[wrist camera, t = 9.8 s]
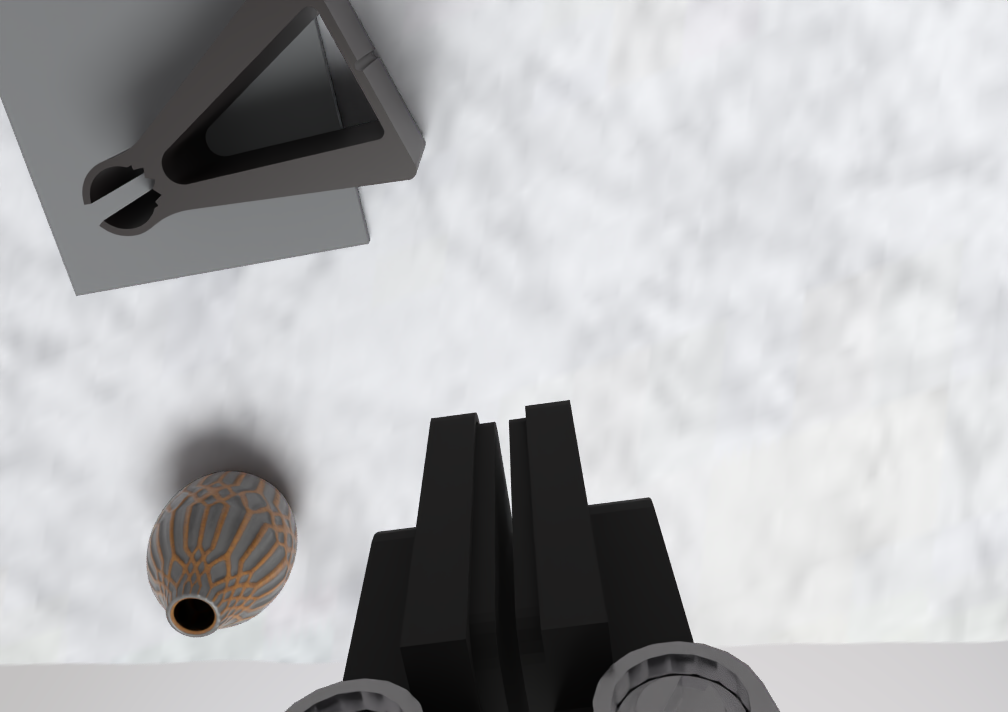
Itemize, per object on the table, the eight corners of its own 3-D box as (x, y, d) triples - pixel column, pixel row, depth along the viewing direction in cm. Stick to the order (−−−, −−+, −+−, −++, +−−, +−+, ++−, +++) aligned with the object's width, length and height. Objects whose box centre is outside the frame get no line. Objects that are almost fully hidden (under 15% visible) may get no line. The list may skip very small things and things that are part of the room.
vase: (161, 456, 47) (95, 557, 38) (295, 445, 46) (256, 544, 38) (190, 567, 49) (134, 684, 41) (317, 557, 49) (285, 671, 41)
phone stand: (320, -51, 37) (81, 89, 39) (293, -55, 31) (15, 109, 33) (428, 147, 40) (202, 267, 42) (420, 175, 35) (161, 312, 37)
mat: (263, -201, 35) (260, -204, 35) (370, 239, 42) (368, 243, 42) (-79, -131, 36) (-88, -133, 36) (81, 291, 43) (76, 295, 42)
